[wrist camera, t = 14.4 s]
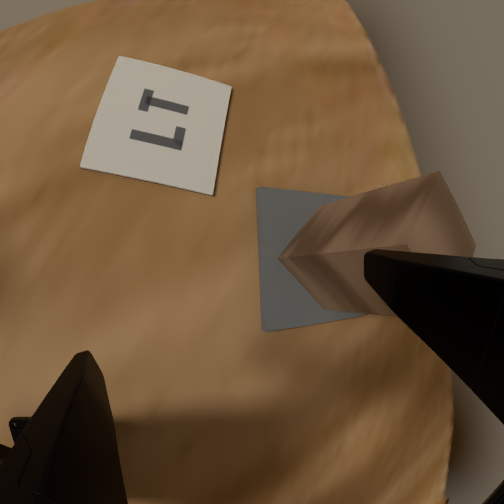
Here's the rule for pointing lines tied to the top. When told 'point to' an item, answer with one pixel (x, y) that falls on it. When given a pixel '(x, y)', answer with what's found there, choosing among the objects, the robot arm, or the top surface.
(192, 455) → the top surface
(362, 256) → the walnut block
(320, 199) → the rubber mat
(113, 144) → the card
